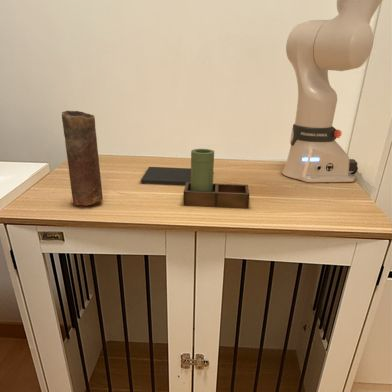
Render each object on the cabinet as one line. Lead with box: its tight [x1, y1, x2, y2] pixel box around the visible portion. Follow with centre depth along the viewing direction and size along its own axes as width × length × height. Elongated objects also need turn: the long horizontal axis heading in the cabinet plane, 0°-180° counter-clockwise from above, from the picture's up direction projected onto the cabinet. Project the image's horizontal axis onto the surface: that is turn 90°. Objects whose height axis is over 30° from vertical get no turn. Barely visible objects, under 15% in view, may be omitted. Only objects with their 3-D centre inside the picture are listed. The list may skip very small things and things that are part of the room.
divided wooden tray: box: [183, 182, 250, 209], centre depth 106 cm, size 16×9×4 cm, turn 87°
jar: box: [190, 148, 215, 192], centre depth 103 cm, size 6×6×12 cm
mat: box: [140, 166, 191, 186], centre depth 124 cm, size 20×16×1 cm
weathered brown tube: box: [61, 110, 104, 207], centre depth 97 cm, size 8×7×20 cm
